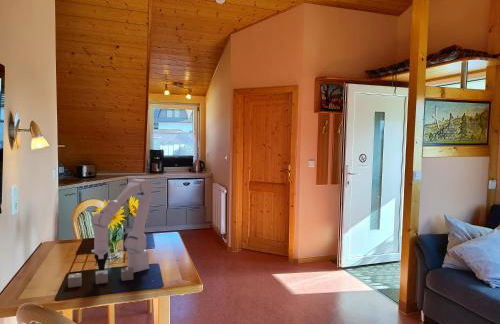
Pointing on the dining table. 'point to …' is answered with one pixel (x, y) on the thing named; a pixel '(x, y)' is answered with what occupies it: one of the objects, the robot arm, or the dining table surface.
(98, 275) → the plain block
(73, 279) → the dotted block
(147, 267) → the robot arm
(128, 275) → the barred block
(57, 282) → the dining table surface
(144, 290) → the dining table surface
